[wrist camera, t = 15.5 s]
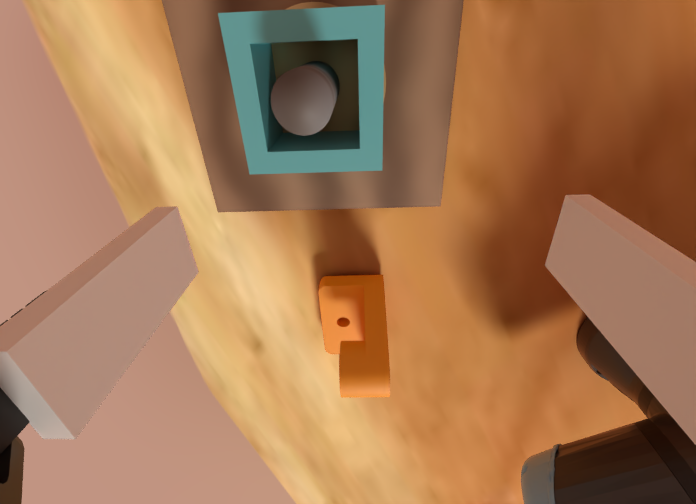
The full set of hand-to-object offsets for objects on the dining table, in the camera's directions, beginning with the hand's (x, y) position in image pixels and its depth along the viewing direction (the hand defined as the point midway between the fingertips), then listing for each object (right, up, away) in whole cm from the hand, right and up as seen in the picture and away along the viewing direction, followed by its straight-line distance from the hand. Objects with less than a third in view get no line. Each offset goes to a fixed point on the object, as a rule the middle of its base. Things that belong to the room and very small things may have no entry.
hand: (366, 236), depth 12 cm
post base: (-3, +14, +17) cm, 22 cm away
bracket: (0, -7, +30) cm, 31 cm away
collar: (-3, +13, +15) cm, 20 cm away
